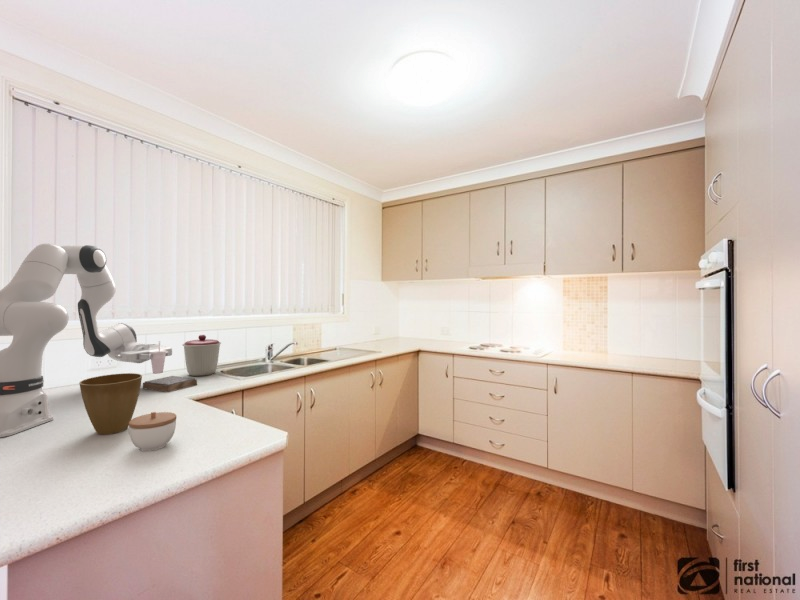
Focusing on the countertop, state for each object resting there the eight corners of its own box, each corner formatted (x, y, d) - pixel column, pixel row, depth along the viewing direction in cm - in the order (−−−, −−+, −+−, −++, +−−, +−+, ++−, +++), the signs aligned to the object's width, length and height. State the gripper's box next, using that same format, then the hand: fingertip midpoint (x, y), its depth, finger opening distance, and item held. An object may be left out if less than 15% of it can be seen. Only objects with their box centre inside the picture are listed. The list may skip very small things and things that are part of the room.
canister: (173, 376, 186) (173, 335, 186) (202, 370, 203) (202, 332, 203) (201, 379, 181) (201, 336, 181) (228, 372, 198) (228, 333, 198)
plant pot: (92, 425, 114) (92, 375, 114) (148, 420, 119) (148, 372, 119) (68, 443, 100) (68, 385, 100) (132, 436, 105) (132, 381, 105)
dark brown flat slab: (168, 391, 155) (168, 384, 155) (142, 388, 161) (142, 381, 161) (196, 384, 168) (196, 378, 168) (172, 381, 174) (172, 375, 174)
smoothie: (160, 374, 156) (160, 342, 156) (145, 374, 156) (145, 342, 156) (169, 371, 163) (170, 340, 163) (155, 371, 163) (155, 340, 163)
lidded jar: (168, 436, 106) (168, 404, 106) (182, 445, 99) (182, 411, 99) (123, 447, 98) (123, 412, 98) (135, 458, 91) (135, 421, 91)
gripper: (113, 349, 154) (134, 351, 149) (159, 343, 173) (180, 345, 169) (112, 364, 154) (134, 366, 149) (159, 356, 173) (180, 358, 169)
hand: (159, 355), depth 159 cm, fingers closed on smoothie, 6 cm apart
